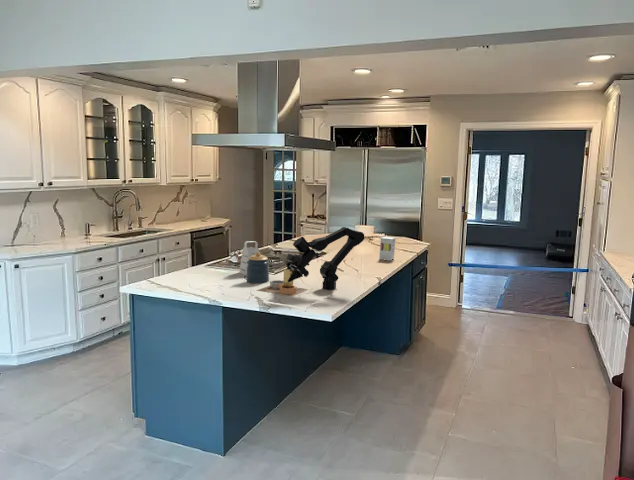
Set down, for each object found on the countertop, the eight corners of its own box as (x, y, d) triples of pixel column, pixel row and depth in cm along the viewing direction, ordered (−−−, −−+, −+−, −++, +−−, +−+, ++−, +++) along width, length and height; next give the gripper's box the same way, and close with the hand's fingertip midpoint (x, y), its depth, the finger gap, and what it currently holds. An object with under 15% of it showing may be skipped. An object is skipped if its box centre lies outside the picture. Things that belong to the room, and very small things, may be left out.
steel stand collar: (288, 286, 282) (288, 281, 282) (280, 289, 275) (281, 284, 275) (275, 285, 286) (275, 279, 285) (267, 287, 278) (267, 282, 278)
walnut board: (308, 291, 279) (308, 289, 279) (293, 298, 263) (293, 296, 262) (273, 285, 288) (273, 284, 288) (256, 292, 272) (256, 290, 272)
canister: (242, 281, 296) (242, 251, 294) (261, 279, 304) (262, 249, 302) (253, 285, 286) (254, 254, 284) (273, 283, 294) (274, 253, 292)
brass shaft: (293, 289, 272) (293, 269, 271) (292, 292, 267) (293, 271, 266) (283, 289, 272) (284, 269, 271) (283, 291, 267) (283, 270, 266)
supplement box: (378, 260, 384) (380, 237, 382) (382, 258, 393) (383, 236, 390) (391, 261, 381) (392, 238, 378) (394, 259, 389) (395, 237, 387)
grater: (261, 274, 318) (262, 242, 315) (245, 275, 312) (246, 243, 310) (254, 271, 327) (255, 240, 324) (239, 272, 321) (239, 240, 318)
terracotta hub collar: (298, 291, 272) (298, 286, 271) (291, 295, 265) (291, 289, 264) (284, 289, 275) (285, 284, 275) (277, 292, 268) (277, 287, 268)
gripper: (288, 245, 277) (269, 267, 273) (304, 251, 260) (283, 274, 257) (301, 259, 281) (282, 280, 278) (317, 265, 265) (297, 288, 262)
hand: (286, 280), depth 268 cm, fingers closed on brass shaft, 5 cm apart
